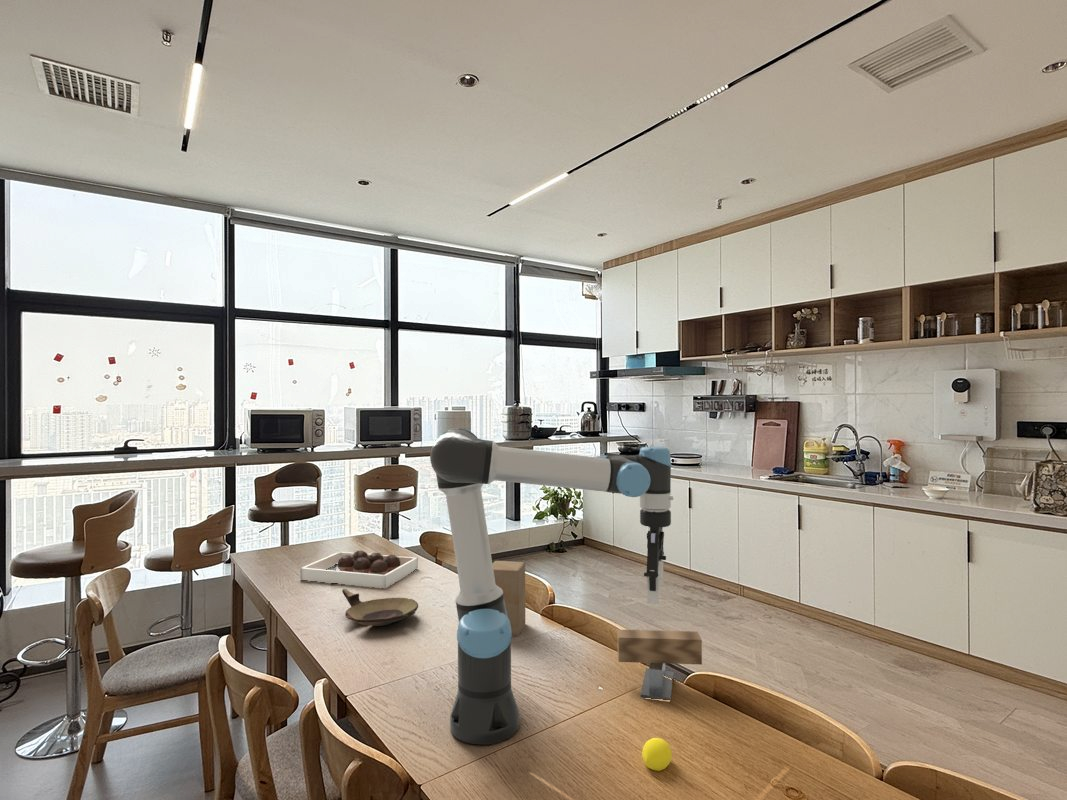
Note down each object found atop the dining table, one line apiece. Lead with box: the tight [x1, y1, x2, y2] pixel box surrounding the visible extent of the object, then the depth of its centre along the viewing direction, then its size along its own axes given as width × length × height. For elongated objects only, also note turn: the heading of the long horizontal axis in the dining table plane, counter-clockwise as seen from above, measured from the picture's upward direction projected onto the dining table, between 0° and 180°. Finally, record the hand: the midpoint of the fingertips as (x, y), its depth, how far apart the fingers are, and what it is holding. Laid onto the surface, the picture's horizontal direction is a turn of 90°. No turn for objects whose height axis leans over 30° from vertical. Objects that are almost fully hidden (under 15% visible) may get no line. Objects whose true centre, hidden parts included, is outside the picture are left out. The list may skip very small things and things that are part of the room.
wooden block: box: [492, 560, 526, 637], centre depth 181 cm, size 10×10×20 cm
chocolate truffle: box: [337, 550, 401, 575], centre depth 239 cm, size 28×17×8 cm, turn 64°
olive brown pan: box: [341, 588, 419, 627], centre depth 190 cm, size 22×30×8 cm
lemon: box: [641, 737, 673, 772], centre depth 113 cm, size 7×5×5 cm
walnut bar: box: [616, 629, 703, 665], centre depth 145 cm, size 20×5×6 cm, turn 85°
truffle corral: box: [299, 551, 419, 590], centre depth 238 cm, size 26×38×5 cm
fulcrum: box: [639, 663, 675, 700], centre depth 145 cm, size 14×7×7 cm, turn 163°
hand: (655, 594), depth 145 cm, fingers open, 13 cm apart
